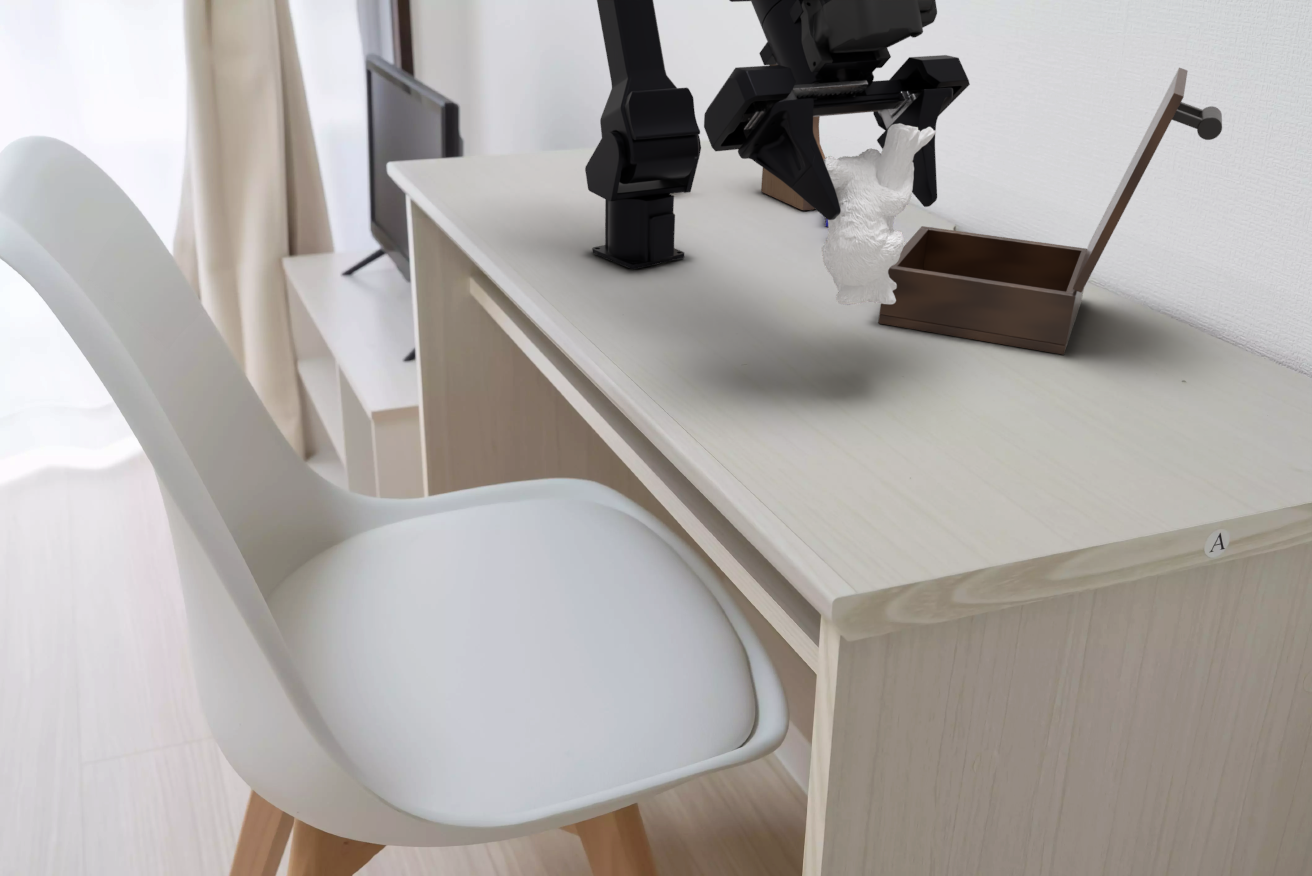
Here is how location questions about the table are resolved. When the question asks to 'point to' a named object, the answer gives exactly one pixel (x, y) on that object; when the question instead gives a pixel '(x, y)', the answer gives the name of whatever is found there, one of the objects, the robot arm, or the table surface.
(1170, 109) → the chest lid
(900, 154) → the white sculpted figure
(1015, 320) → the chest
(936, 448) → the table surface
